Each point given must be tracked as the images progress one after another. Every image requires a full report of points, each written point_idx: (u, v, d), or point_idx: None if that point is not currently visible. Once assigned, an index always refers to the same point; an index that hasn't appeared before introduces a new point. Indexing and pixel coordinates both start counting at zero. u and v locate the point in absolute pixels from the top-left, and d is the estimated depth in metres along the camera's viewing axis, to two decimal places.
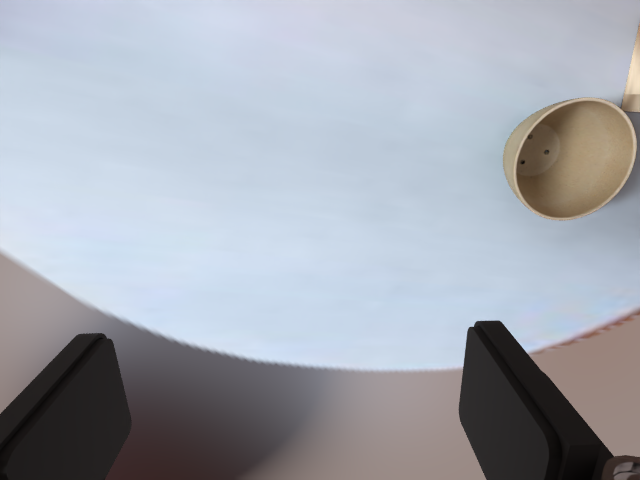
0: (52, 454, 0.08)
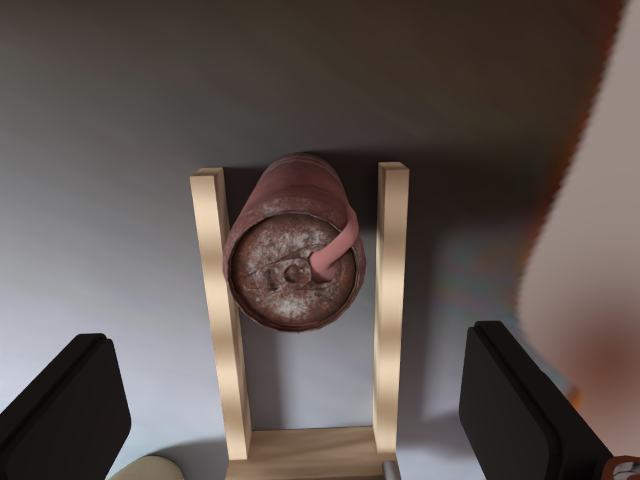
0: (52, 454, 0.08)
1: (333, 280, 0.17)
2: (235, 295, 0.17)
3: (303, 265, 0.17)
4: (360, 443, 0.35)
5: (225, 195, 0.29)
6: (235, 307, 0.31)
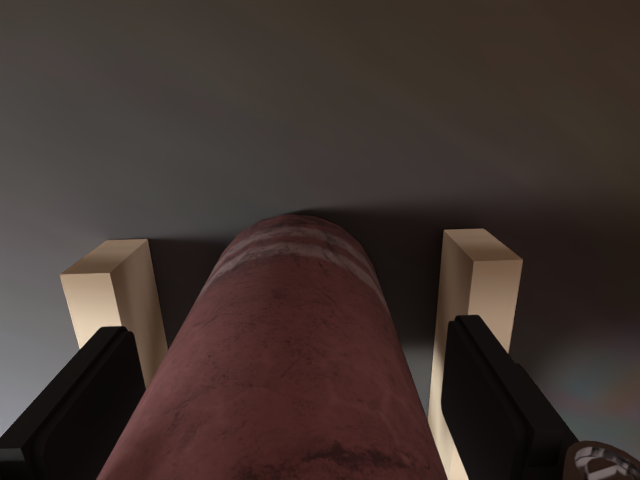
0: (82, 440, 0.08)
1: None
2: None
3: None
4: None
5: (155, 288, 0.16)
6: None
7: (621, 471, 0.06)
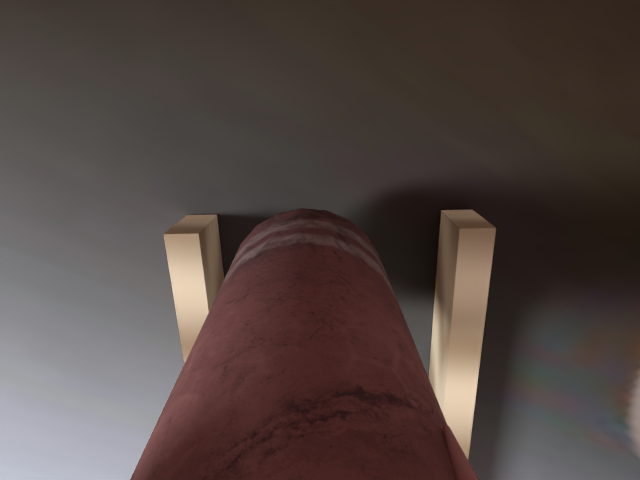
0: None
1: None
2: None
3: None
4: None
5: (220, 253, 0.21)
6: None
7: None
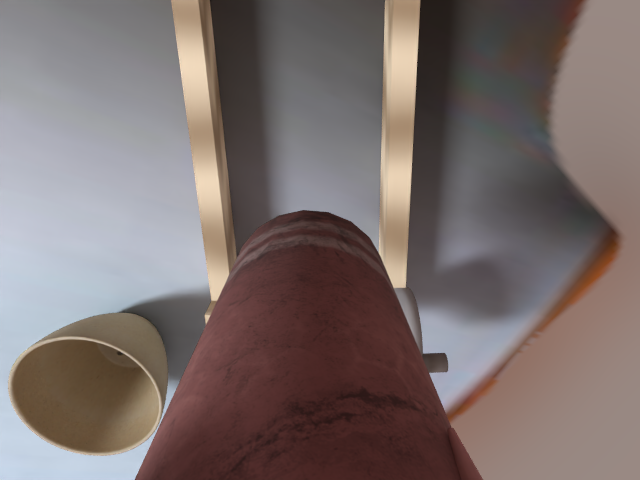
0: None
1: None
2: None
3: None
4: None
5: None
6: (217, 104, 0.27)
7: None
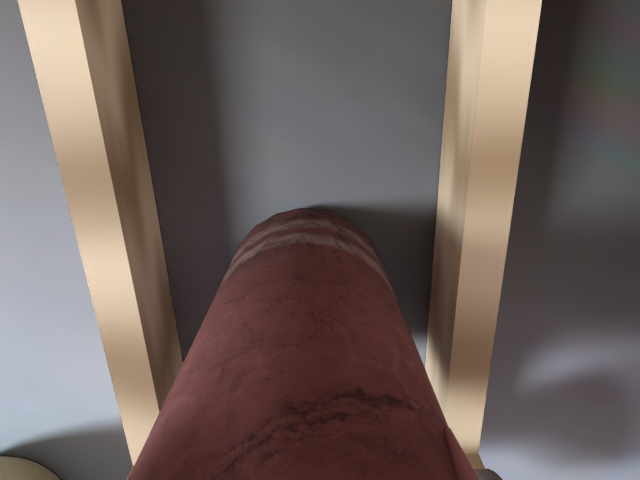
0: None
1: None
2: None
3: None
4: None
5: None
6: (129, 117, 0.14)
7: None
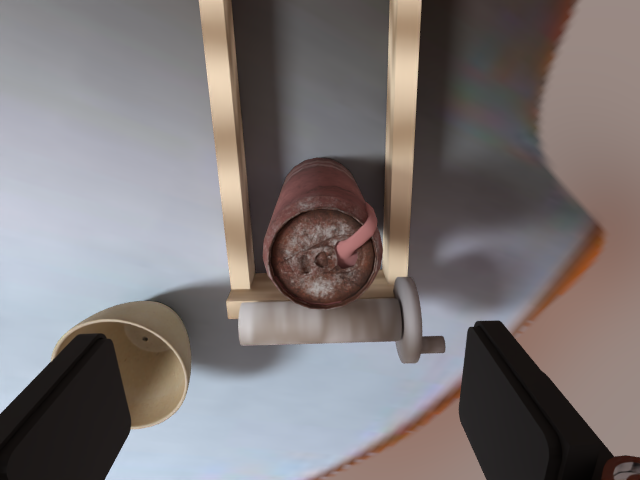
0: (52, 454, 0.08)
1: (355, 265, 0.20)
2: (274, 277, 0.20)
3: (331, 252, 0.20)
4: None
5: None
6: (238, 112, 0.30)
7: None
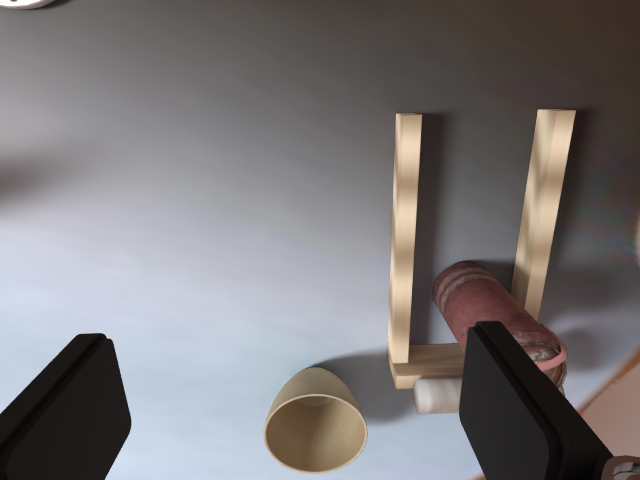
0: (52, 454, 0.08)
1: None
2: None
3: None
4: None
5: None
6: None
7: None
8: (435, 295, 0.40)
